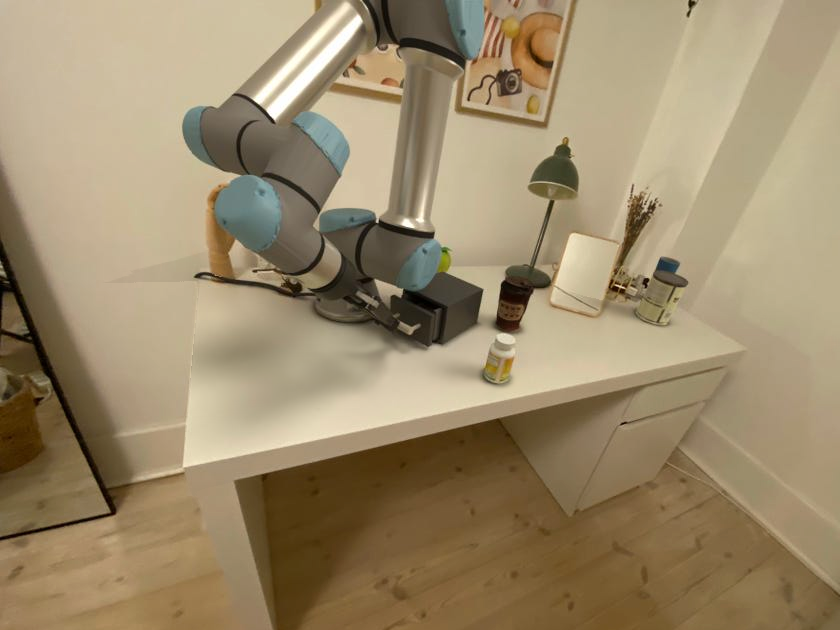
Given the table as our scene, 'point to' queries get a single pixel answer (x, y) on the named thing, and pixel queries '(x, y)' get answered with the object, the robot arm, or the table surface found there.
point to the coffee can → (661, 297)
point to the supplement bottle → (500, 359)
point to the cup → (667, 264)
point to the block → (426, 307)
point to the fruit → (444, 260)
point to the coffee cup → (513, 302)
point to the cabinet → (452, 303)
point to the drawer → (417, 318)
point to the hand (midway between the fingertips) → (394, 326)
